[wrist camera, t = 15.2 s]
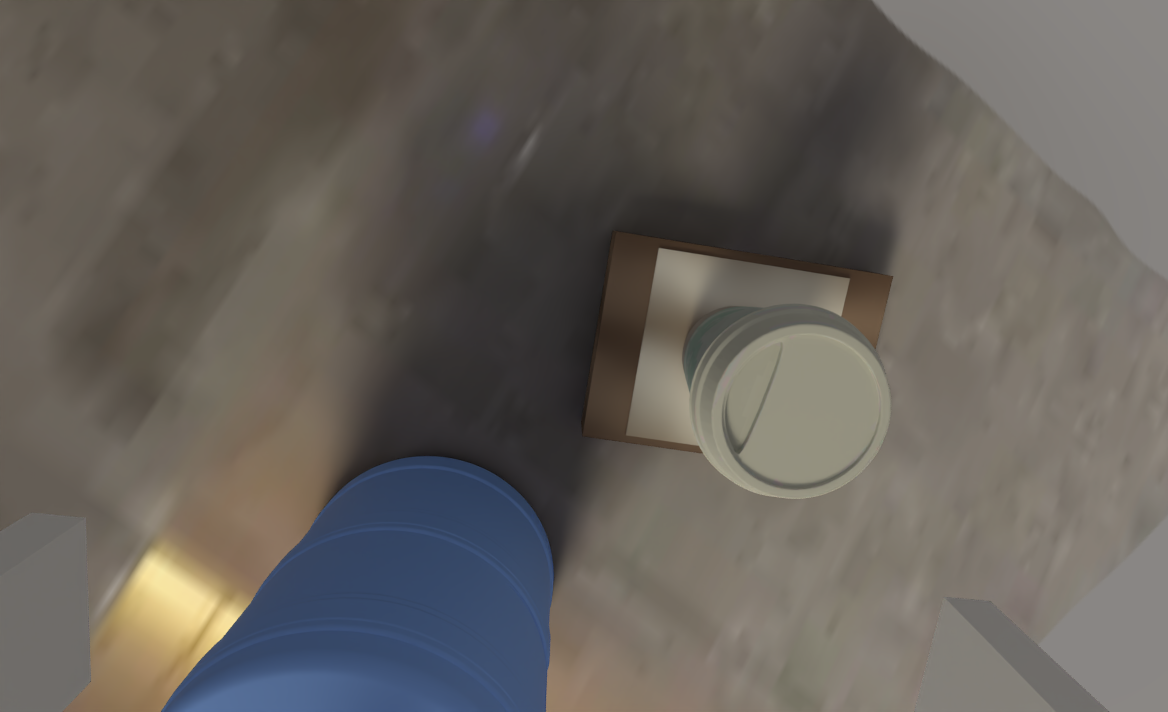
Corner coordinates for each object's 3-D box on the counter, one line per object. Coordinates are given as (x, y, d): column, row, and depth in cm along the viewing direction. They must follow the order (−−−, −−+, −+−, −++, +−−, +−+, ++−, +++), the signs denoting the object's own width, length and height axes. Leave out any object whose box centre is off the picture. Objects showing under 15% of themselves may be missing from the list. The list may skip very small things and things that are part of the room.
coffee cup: (747, 250, 39) (827, 265, 27) (834, 366, 41) (945, 427, 29) (627, 346, 40) (655, 400, 28) (716, 455, 42) (778, 550, 30)
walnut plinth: (612, 230, 42) (616, 231, 39) (872, 272, 43) (894, 276, 40) (581, 422, 44) (582, 437, 41) (827, 458, 45) (846, 475, 42)
